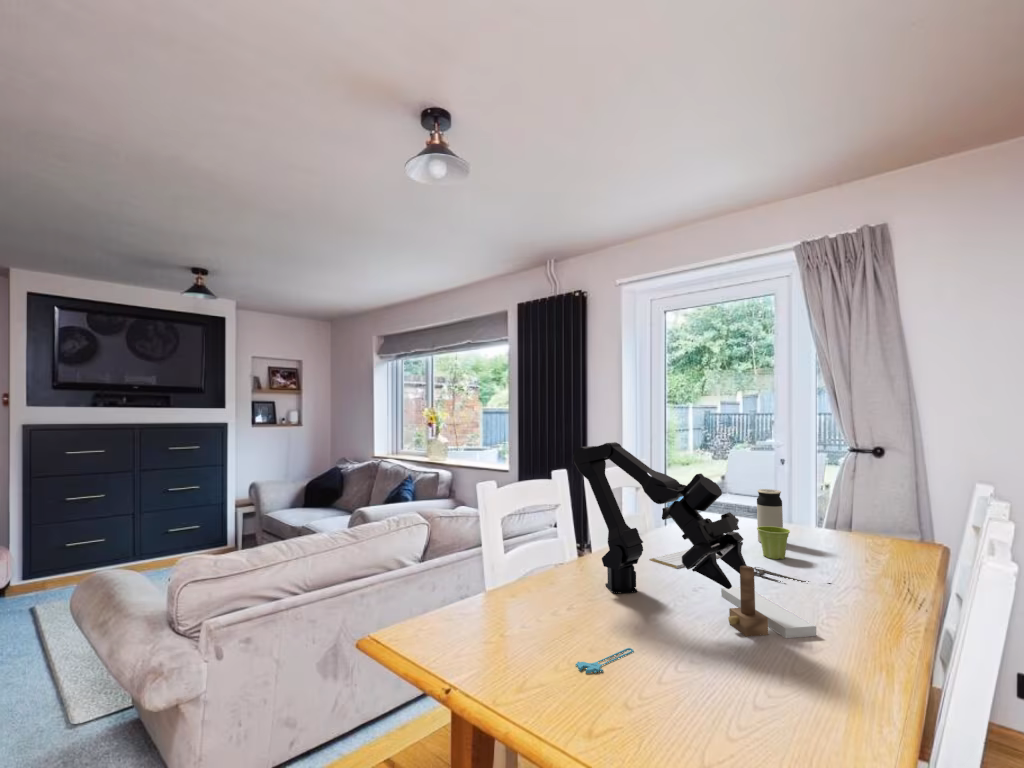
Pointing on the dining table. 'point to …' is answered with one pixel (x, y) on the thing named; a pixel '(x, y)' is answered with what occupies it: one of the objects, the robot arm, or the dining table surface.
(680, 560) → the baseboard
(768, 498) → the travel mug
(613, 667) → the dining table surface
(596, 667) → the blue flat looped piece
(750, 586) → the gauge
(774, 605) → the board
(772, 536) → the plant pot
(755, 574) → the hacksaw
